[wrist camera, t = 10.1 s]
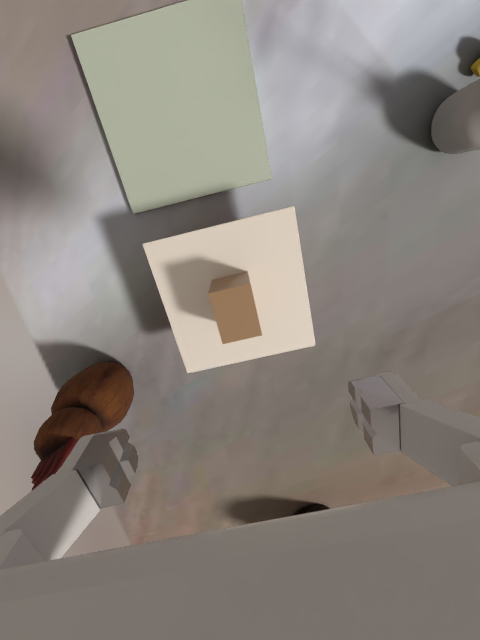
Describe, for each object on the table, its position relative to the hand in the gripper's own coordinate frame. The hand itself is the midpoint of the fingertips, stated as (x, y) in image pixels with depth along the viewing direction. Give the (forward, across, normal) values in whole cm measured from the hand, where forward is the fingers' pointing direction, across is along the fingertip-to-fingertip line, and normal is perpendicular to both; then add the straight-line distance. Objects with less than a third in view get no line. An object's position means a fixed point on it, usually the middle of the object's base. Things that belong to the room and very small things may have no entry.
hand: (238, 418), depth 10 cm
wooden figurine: (+21, +16, +8) cm, 28 cm away
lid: (+16, 0, 0) cm, 16 cm away
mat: (+21, +1, -15) cm, 26 cm away
